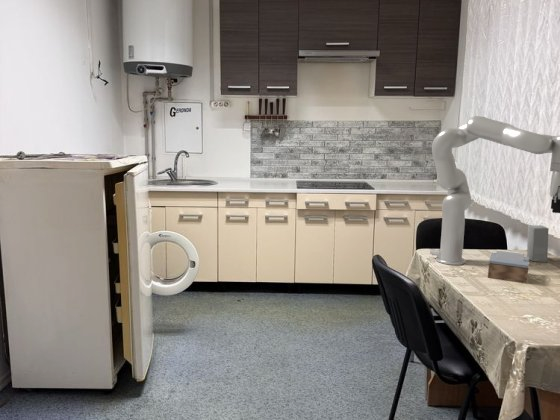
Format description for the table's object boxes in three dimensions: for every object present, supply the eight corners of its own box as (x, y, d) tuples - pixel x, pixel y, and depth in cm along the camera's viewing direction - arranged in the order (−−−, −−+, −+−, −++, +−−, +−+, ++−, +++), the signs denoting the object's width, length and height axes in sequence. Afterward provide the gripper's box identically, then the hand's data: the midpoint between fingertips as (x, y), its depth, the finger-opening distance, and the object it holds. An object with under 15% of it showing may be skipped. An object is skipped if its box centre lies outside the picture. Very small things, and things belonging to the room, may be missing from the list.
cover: (489, 262, 182) (489, 253, 181) (491, 254, 194) (492, 245, 193) (528, 268, 175) (529, 258, 175) (528, 259, 187) (529, 250, 187)
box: (487, 277, 183) (489, 263, 182) (490, 268, 195) (491, 255, 194) (526, 283, 176) (528, 268, 175) (527, 274, 188) (528, 260, 187)
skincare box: (547, 262, 205) (551, 228, 203) (530, 261, 207) (533, 227, 204) (540, 257, 213) (544, 224, 211) (524, 256, 215) (527, 224, 212)
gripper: (549, 165, 184) (544, 206, 187) (551, 168, 169) (546, 213, 172) (570, 166, 181) (565, 208, 184) (575, 169, 166) (569, 215, 169)
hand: (556, 210), depth 178 cm, fingers open, 9 cm apart
